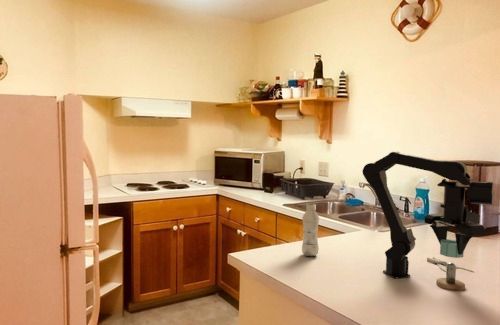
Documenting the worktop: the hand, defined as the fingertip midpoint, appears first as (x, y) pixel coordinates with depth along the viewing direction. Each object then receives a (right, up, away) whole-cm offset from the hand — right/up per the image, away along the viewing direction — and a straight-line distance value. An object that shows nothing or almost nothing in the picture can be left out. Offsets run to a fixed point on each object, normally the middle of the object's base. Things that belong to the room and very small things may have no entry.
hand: (451, 251), depth 122 cm
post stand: (0, -11, +1) cm, 11 cm away
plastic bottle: (-40, -9, +30) cm, 51 cm away
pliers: (+8, -10, +19) cm, 23 cm away
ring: (0, -1, 0) cm, 1 cm away
